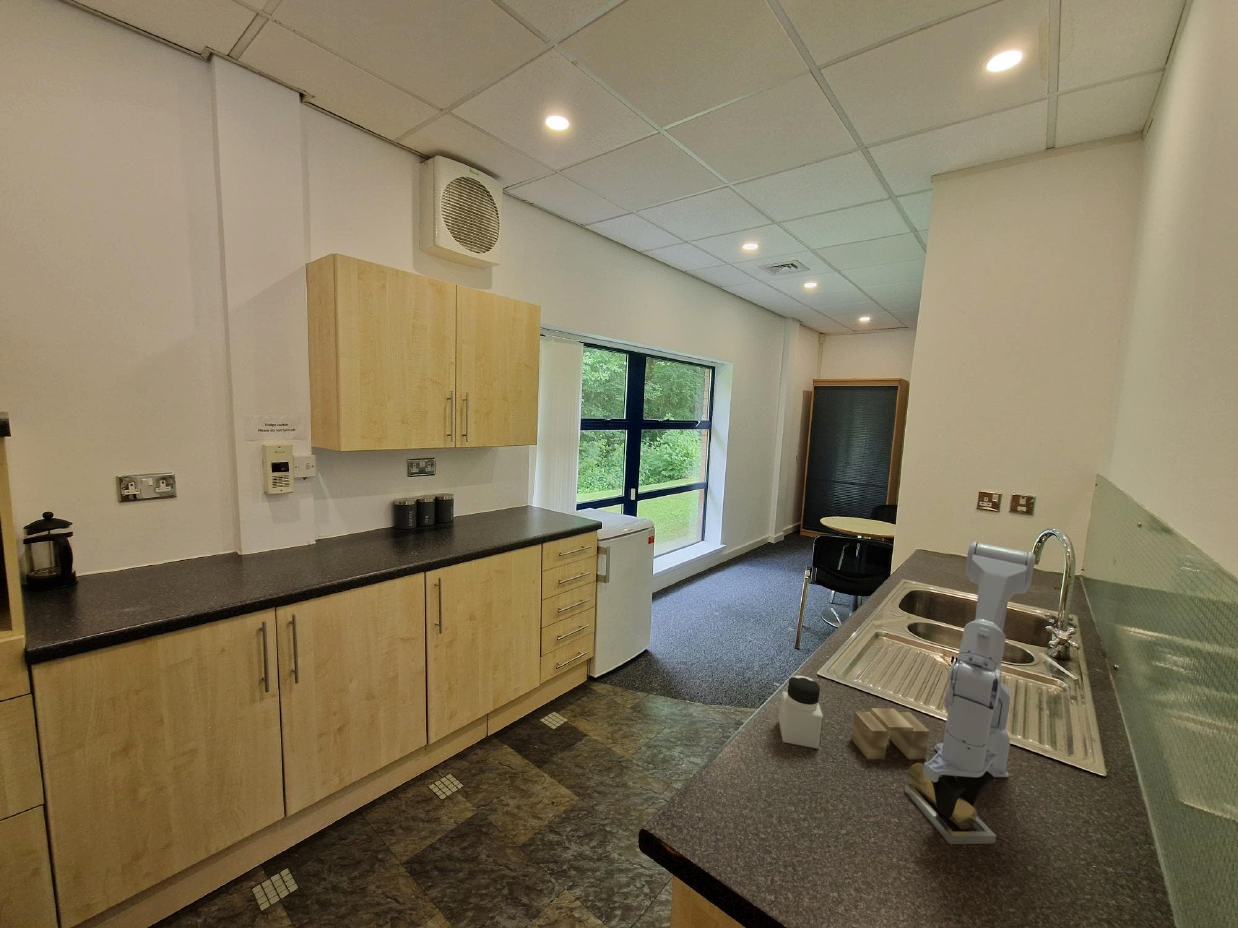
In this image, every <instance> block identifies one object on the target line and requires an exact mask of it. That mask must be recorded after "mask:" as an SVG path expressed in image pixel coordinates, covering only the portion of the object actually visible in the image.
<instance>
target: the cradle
mask: <svg viewBox="0 0 1238 928" xmlns="http://www.w3.org/2000/svg"><path fill="white" fill-rule="evenodd" d="M904 792H905V793H906V794H907V795H908V797H909V798H910V799H911V800H912V802H913V803H914V804H915V805H916V807H917V808H918V809H919V810H920V811H921V812H922V813H923V814H924V816H925V817H926V818H927V820H929V822H930V823H931V824H932V825H933V826H934V828H935V829H936V831H938V832H939V833H940V835H941V836H942V837H943V839H945V841H946V842H947V843H948V844H949V845H974V844H975V845H977V844H978V845H979V844H980V845H981V844H985V845H986V844H987V845H989V844H990V845H991V844H996V841H997V839H996V838H997V834H995V833H994V832H993V830H991V829H990V827H988V826H987V825H986V824H985V822H984V821H982V819H981V818H980V817H979V816H978V815H977V817H976V820H975V822H974V823H973V825H972V826H971V827H973V828H974V829H975V830H976V831H953V830H952V829H951V828H950V827H949V826H948V824H946V822H945V821H944V820H943V819H942V818H941V817H940V816H939V814H938V813H937V812H936V811H935V809H934V808H933V807H932V806H931V805H930V804H929V803H928V802H927V801H926V800H925V798H924V797H923V796H922V795H921V794H920V793H919V792H920V791H919V790H918V789H916V788H915V787H914V786H913V785H912V784H911V783H905V786H904Z"/></svg>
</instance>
